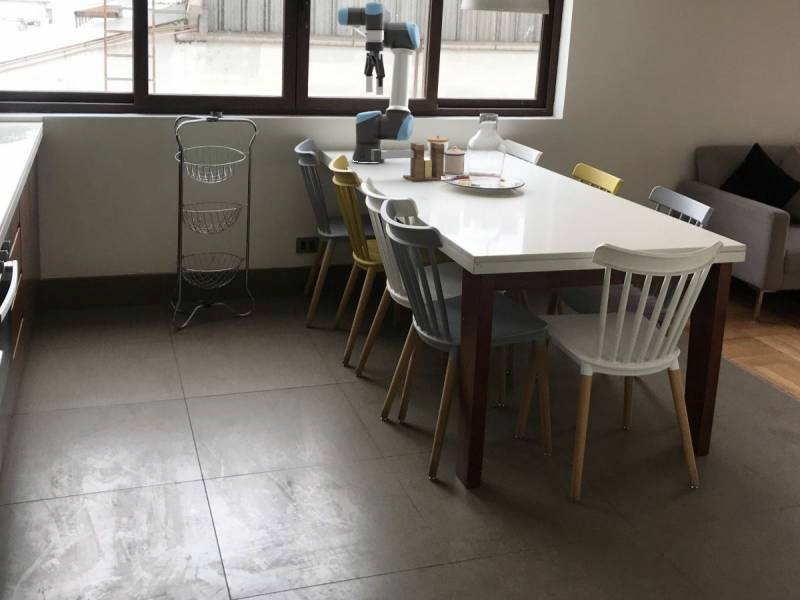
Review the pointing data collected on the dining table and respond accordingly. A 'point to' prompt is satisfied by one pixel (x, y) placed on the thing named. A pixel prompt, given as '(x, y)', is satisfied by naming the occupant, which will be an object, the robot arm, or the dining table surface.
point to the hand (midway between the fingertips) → (374, 93)
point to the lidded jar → (438, 139)
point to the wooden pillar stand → (418, 163)
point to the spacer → (427, 168)
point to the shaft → (392, 154)
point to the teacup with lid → (454, 161)
